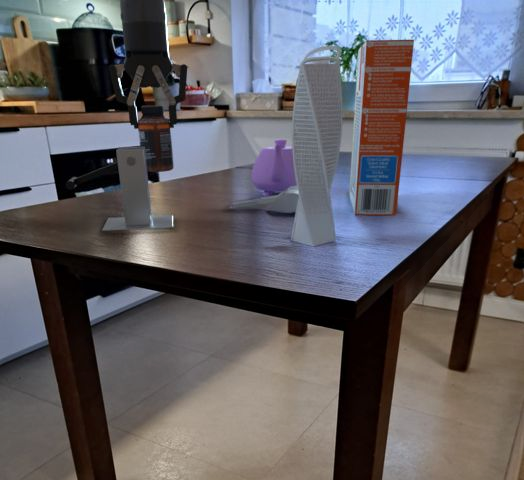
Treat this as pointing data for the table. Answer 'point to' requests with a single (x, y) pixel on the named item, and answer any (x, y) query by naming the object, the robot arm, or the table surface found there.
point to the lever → (90, 176)
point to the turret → (272, 202)
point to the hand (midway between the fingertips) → (154, 127)
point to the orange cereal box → (379, 125)
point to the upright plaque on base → (135, 194)
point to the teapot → (274, 169)
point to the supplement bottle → (156, 139)
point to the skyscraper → (316, 145)
